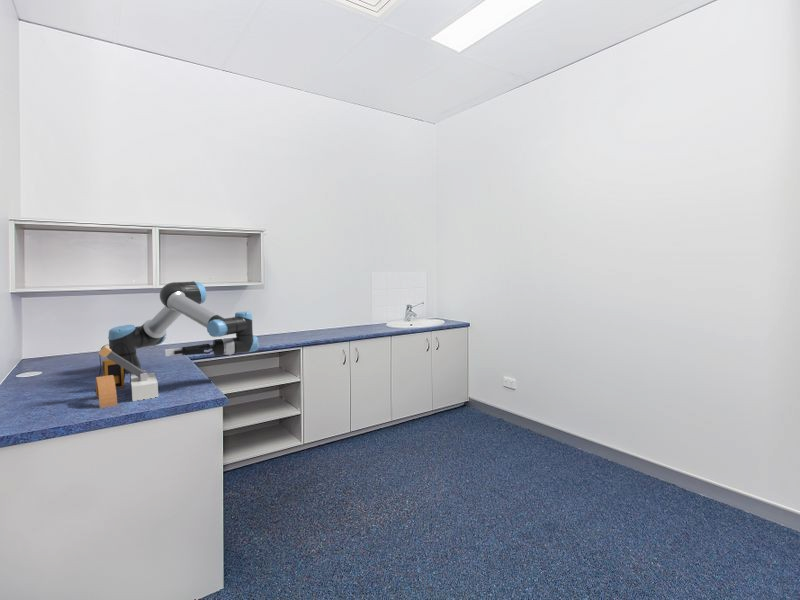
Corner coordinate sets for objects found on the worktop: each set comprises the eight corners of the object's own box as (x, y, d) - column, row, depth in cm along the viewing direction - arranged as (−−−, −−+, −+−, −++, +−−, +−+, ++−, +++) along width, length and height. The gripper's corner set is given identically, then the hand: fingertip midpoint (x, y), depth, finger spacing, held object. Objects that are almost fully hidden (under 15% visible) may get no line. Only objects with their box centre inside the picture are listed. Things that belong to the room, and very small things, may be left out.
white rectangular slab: (131, 388, 190) (130, 368, 189) (155, 385, 194) (153, 366, 194) (132, 401, 171) (131, 379, 170) (158, 397, 176) (157, 375, 175)
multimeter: (125, 381, 202) (123, 339, 200) (133, 385, 196) (131, 341, 194) (88, 388, 191) (85, 344, 189) (95, 392, 184) (92, 346, 183)
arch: (112, 393, 183) (111, 370, 182) (117, 405, 167) (115, 380, 166) (96, 396, 179) (94, 373, 178) (99, 408, 163) (97, 382, 163)
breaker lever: (142, 378, 184) (98, 351, 175) (148, 372, 185) (104, 345, 176) (143, 381, 180) (98, 353, 171) (148, 374, 181) (104, 347, 172)
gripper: (226, 357, 194) (167, 364, 181) (220, 352, 205) (164, 358, 192) (225, 340, 193) (166, 346, 180) (220, 337, 204) (163, 342, 191)
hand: (165, 352), depth 186 cm, fingers closed
